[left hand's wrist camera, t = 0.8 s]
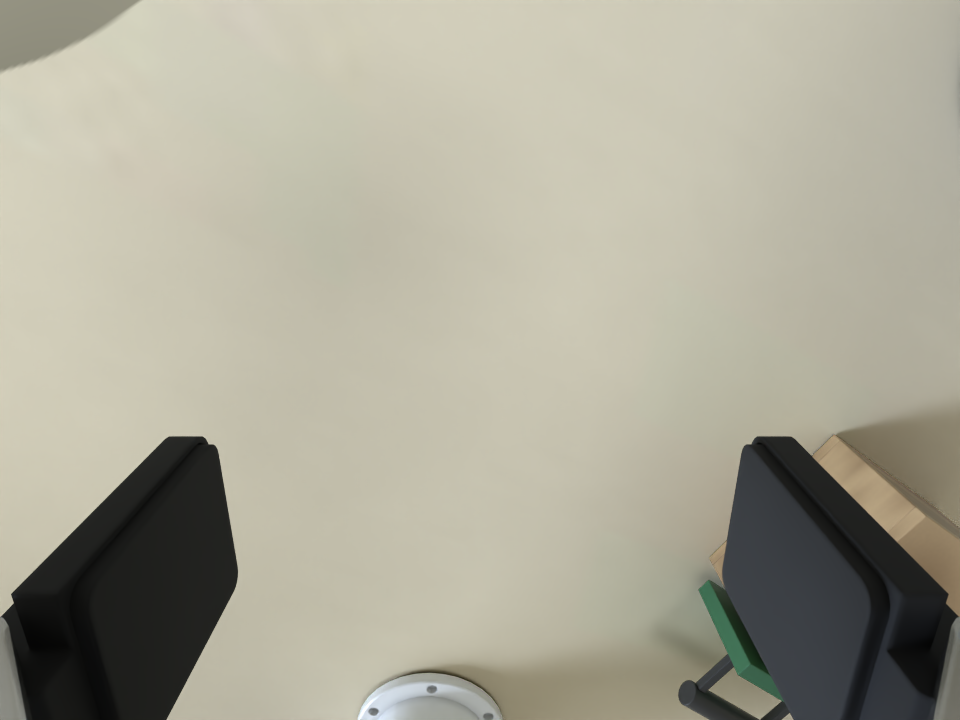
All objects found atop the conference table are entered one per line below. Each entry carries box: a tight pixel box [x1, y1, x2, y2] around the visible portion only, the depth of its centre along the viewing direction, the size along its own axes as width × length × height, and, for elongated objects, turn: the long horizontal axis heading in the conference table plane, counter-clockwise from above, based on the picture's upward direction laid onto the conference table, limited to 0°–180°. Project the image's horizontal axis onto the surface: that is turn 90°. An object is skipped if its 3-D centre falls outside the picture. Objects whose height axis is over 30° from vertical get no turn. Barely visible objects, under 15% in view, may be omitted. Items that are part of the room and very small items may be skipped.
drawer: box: [678, 580, 790, 720], centre depth 44 cm, size 18×10×8 cm, turn 145°
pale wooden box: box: [709, 435, 960, 659], centre depth 43 cm, size 13×11×10 cm
